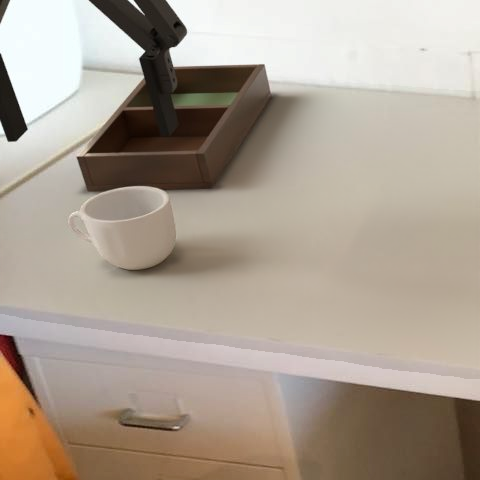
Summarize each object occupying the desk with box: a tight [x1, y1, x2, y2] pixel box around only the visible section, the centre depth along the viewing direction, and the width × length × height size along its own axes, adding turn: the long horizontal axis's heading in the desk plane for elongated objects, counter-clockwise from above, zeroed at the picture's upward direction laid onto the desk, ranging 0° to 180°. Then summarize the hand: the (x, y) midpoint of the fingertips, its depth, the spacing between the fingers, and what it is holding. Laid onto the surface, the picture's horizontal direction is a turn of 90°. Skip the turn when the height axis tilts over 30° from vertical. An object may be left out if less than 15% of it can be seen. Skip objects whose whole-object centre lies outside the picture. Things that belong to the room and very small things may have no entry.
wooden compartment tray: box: [76, 63, 272, 192], centre depth 141 cm, size 13×25×4 cm, turn 178°
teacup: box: [68, 186, 177, 271], centre depth 119 cm, size 10×8×5 cm
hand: (93, 133), depth 113 cm, fingers open, 13 cm apart
